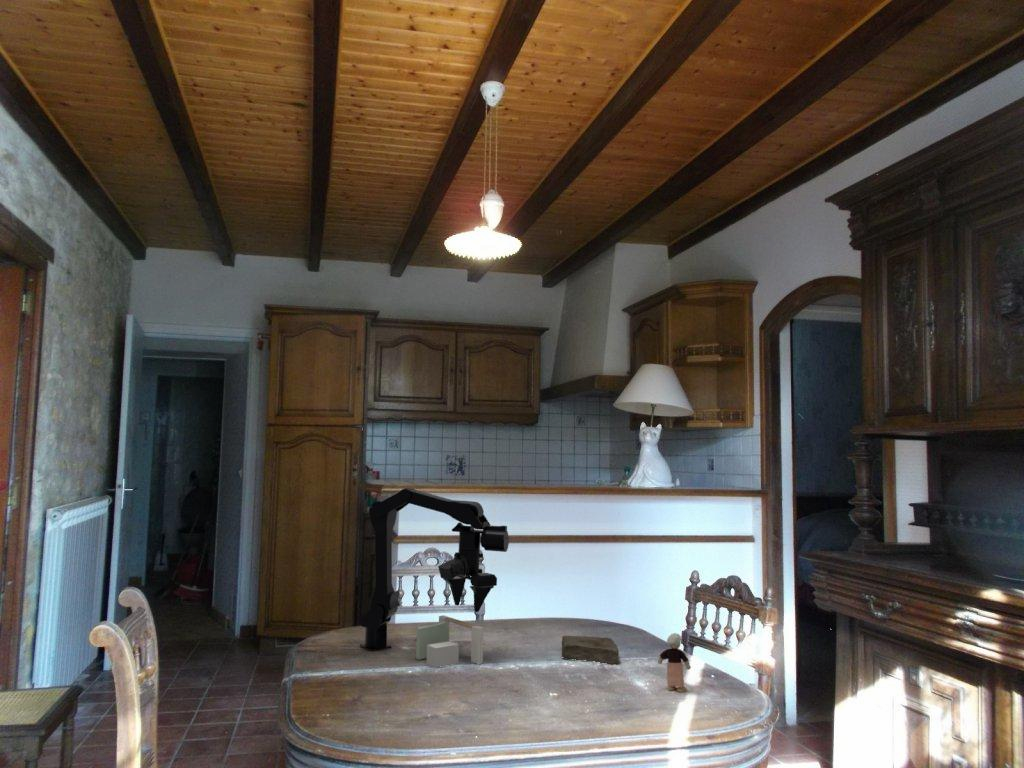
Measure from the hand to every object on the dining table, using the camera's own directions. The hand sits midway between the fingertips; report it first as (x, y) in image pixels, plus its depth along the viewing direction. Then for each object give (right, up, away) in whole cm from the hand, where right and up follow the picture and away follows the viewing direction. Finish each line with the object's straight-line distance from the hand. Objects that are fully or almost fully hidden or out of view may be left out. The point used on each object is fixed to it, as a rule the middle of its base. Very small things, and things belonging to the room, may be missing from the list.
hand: (466, 608), depth 212 cm
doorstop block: (-6, -11, -11) cm, 16 cm away
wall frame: (-2, -12, -3) cm, 12 cm away
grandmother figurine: (+50, -11, -29) cm, 58 cm away
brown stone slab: (+33, -13, 0) cm, 35 cm away
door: (-9, -11, -3) cm, 15 cm away
